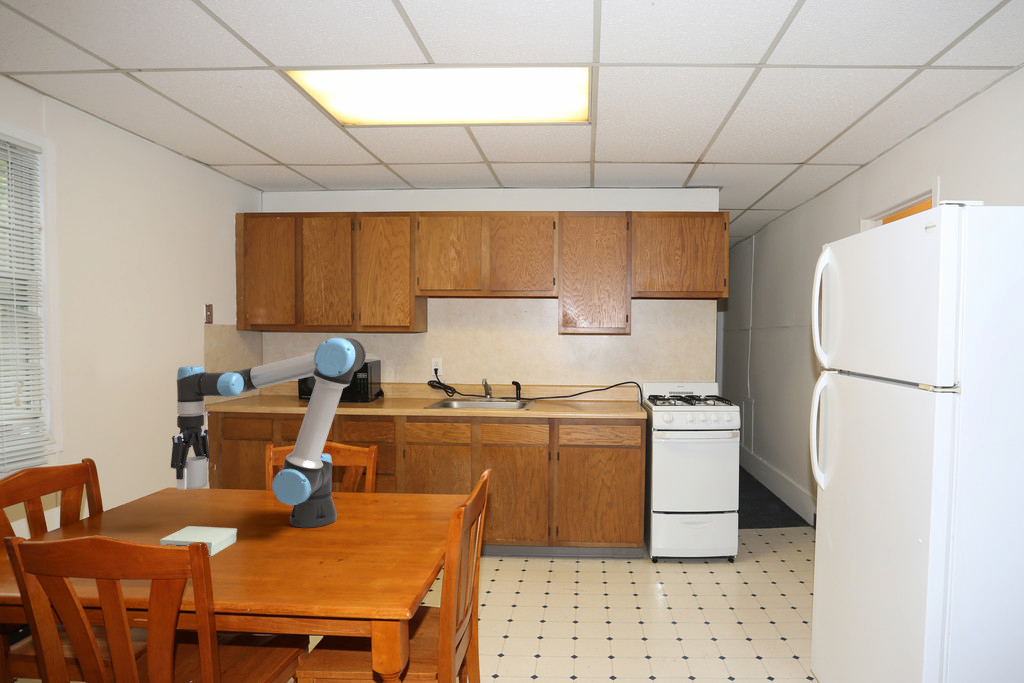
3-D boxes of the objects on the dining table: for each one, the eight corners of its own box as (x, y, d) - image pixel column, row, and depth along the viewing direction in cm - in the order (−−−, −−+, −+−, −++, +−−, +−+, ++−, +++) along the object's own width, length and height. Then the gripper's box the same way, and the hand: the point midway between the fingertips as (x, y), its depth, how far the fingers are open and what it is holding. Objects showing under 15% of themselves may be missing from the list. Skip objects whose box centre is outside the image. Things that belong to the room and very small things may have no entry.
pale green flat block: (236, 541, 174) (236, 528, 174) (211, 556, 162) (211, 542, 162) (188, 538, 176) (188, 526, 176) (160, 553, 164) (160, 539, 164)
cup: (185, 491, 176) (185, 462, 176) (175, 485, 183) (175, 457, 183) (210, 486, 182) (210, 458, 182) (199, 481, 189) (199, 454, 189)
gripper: (201, 410, 192) (201, 477, 192) (156, 418, 172) (156, 493, 172) (221, 410, 191) (222, 478, 191) (178, 419, 171) (178, 494, 171)
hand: (190, 485), depth 182 cm, fingers closed on cup, 7 cm apart
